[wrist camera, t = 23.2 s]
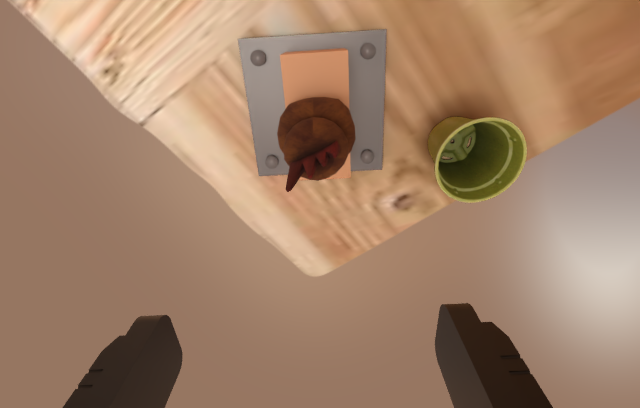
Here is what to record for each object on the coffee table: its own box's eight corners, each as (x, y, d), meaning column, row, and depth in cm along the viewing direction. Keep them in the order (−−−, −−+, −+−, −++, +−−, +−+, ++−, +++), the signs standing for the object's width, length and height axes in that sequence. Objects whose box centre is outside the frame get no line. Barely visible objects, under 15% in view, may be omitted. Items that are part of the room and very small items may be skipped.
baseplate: (384, 29, 36) (387, 28, 34) (380, 165, 44) (383, 171, 42) (240, 38, 37) (236, 38, 35) (260, 171, 44) (258, 178, 42)
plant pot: (421, 99, 40) (446, 115, 32) (498, 103, 40) (541, 120, 32) (408, 171, 44) (427, 200, 36) (477, 175, 44) (510, 204, 36)
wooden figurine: (288, 151, 35) (268, 222, 22) (279, 95, 32) (251, 137, 19) (351, 145, 35) (371, 214, 21) (348, 88, 32) (368, 125, 19)
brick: (344, 48, 36) (348, 50, 30) (346, 159, 42) (350, 177, 36) (285, 52, 36) (279, 54, 31) (296, 162, 42) (293, 180, 36)
